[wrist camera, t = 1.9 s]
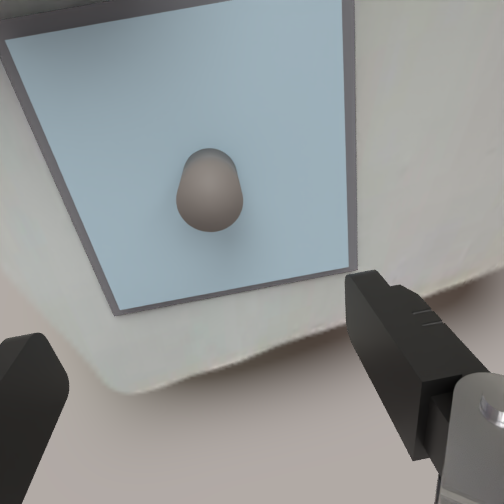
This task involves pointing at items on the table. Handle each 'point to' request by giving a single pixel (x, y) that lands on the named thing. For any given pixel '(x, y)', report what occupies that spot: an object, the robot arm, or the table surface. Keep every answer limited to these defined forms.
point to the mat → (146, 3)
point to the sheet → (200, 142)
